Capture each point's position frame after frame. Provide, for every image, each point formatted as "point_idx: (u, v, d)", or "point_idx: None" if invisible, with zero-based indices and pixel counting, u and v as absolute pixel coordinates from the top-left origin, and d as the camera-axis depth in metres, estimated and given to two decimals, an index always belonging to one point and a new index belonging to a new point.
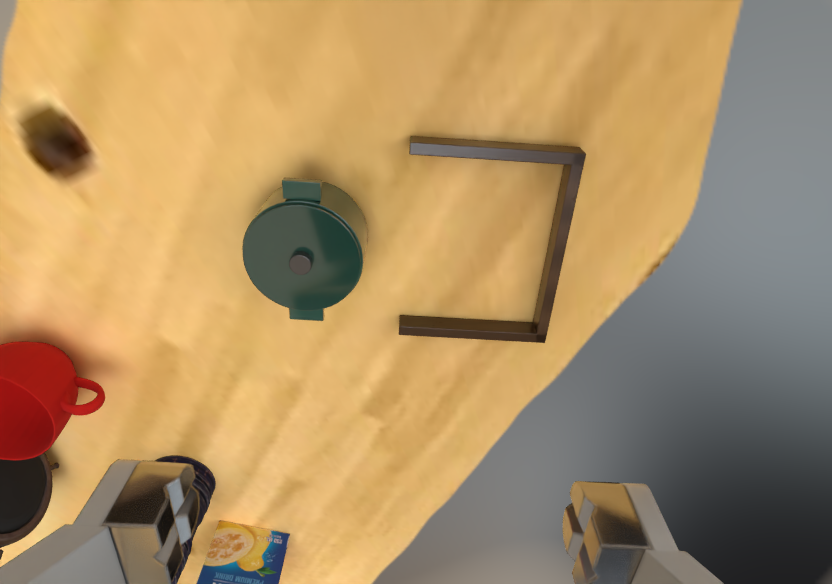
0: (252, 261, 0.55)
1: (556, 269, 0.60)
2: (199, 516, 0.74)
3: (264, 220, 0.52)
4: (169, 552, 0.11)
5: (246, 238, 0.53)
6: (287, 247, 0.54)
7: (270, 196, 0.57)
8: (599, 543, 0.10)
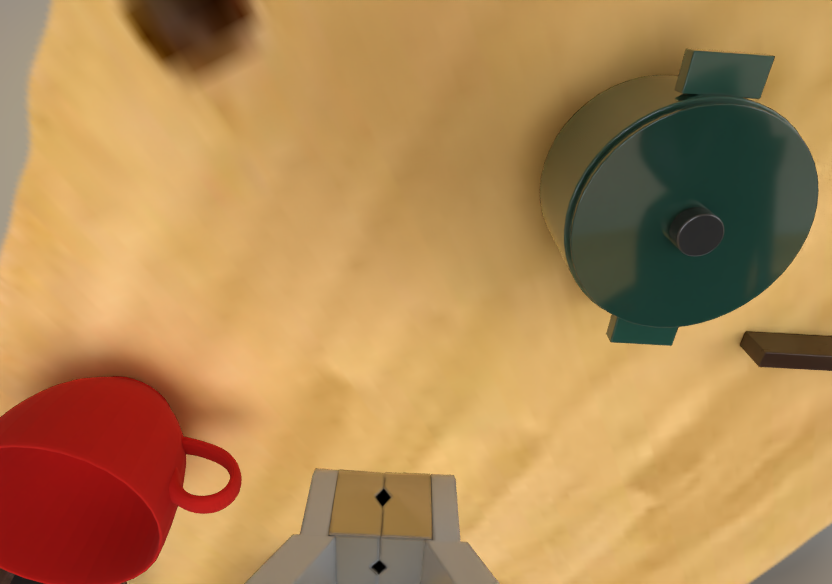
0: (589, 229, 0.27)
1: None
2: None
3: (645, 139, 0.25)
4: (378, 561, 0.11)
5: (593, 179, 0.26)
6: (672, 199, 0.26)
7: (594, 106, 0.29)
8: (381, 533, 0.10)
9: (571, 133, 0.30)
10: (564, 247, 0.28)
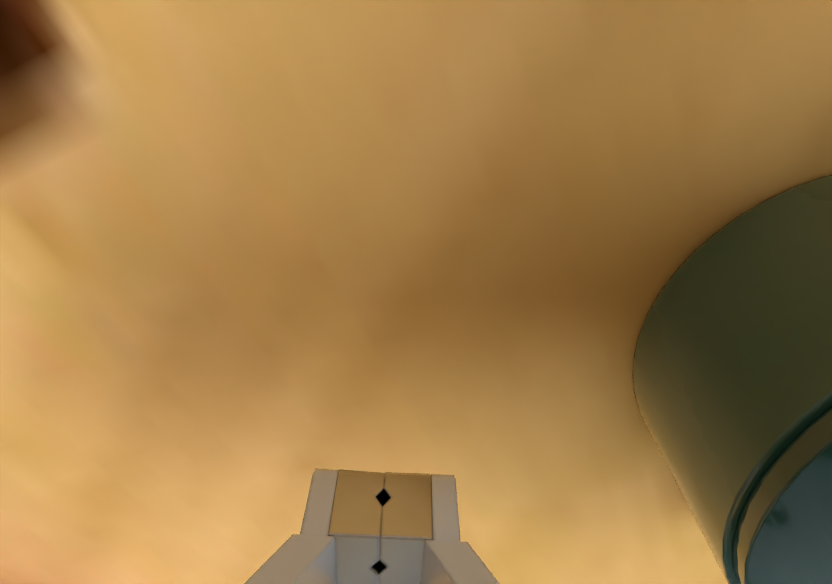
0: (794, 534, 0.12)
1: None
2: None
3: None
4: (378, 561, 0.11)
5: (827, 451, 0.11)
6: None
7: (765, 229, 0.15)
8: (380, 533, 0.10)
9: (719, 282, 0.15)
10: (721, 543, 0.13)
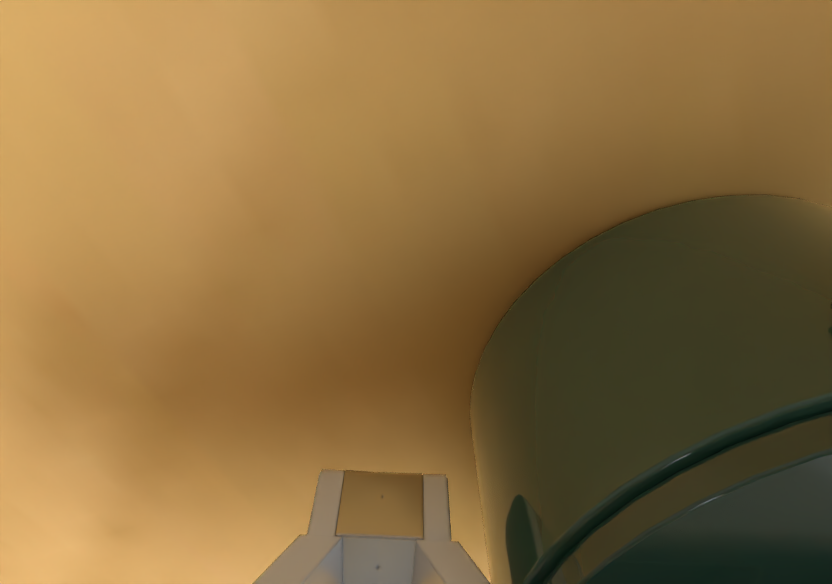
0: None
1: None
2: None
3: (752, 510, 0.07)
4: None
5: None
6: None
7: (579, 277, 0.12)
8: (371, 533, 0.10)
9: (526, 342, 0.12)
10: None
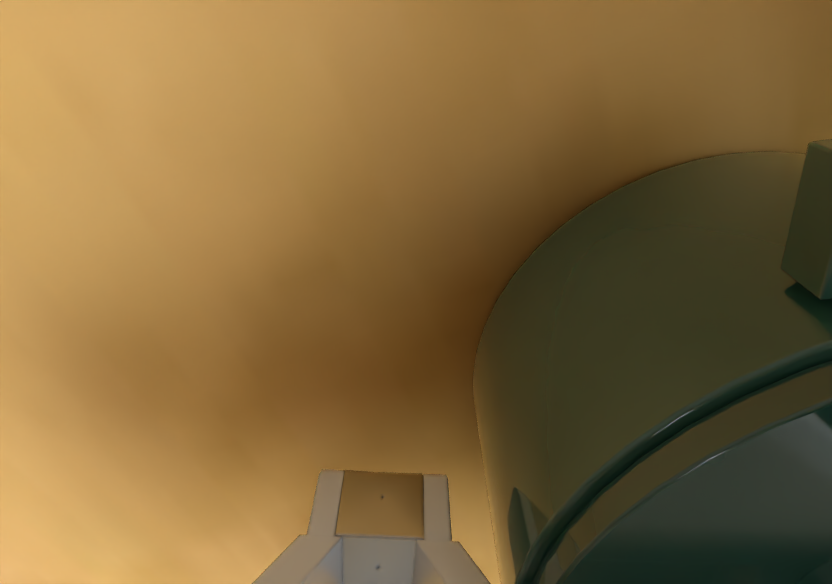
0: None
1: None
2: None
3: (714, 490, 0.07)
4: None
5: None
6: None
7: (550, 267, 0.12)
8: (372, 533, 0.10)
9: (507, 340, 0.12)
10: None
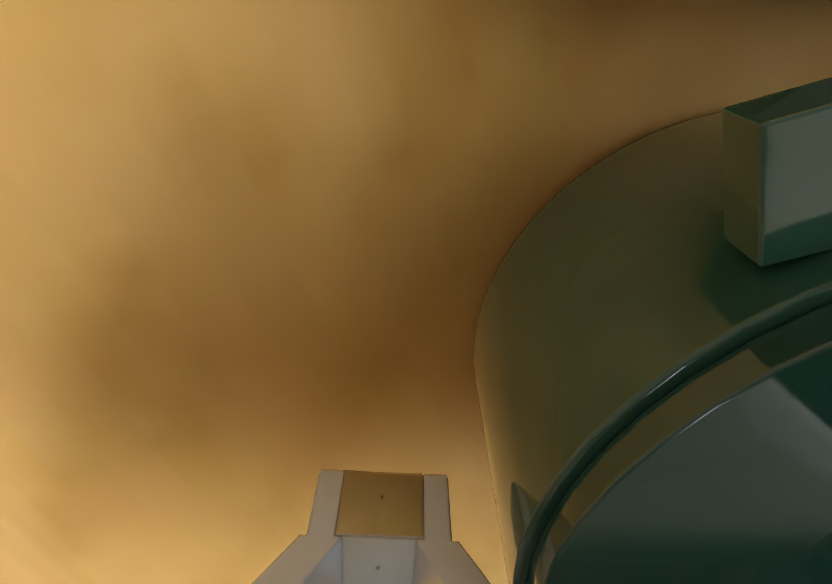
0: None
1: None
2: None
3: (675, 475, 0.07)
4: None
5: None
6: None
7: (524, 261, 0.12)
8: (372, 534, 0.10)
9: (492, 339, 0.12)
10: None
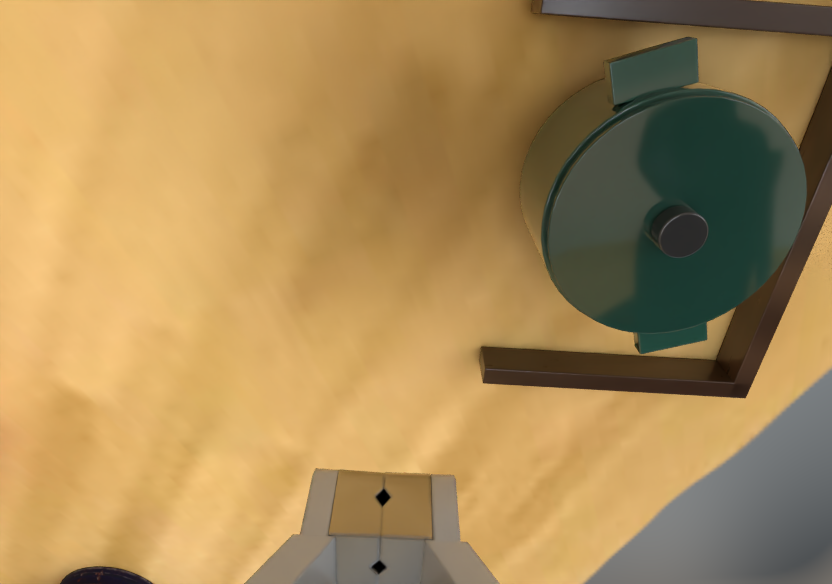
0: (569, 261, 0.26)
1: (797, 263, 0.31)
2: None
3: (590, 163, 0.24)
4: (378, 561, 0.11)
5: (553, 216, 0.25)
6: (642, 208, 0.25)
7: (544, 132, 0.29)
8: (380, 534, 0.10)
9: (531, 165, 0.29)
10: (553, 282, 0.28)
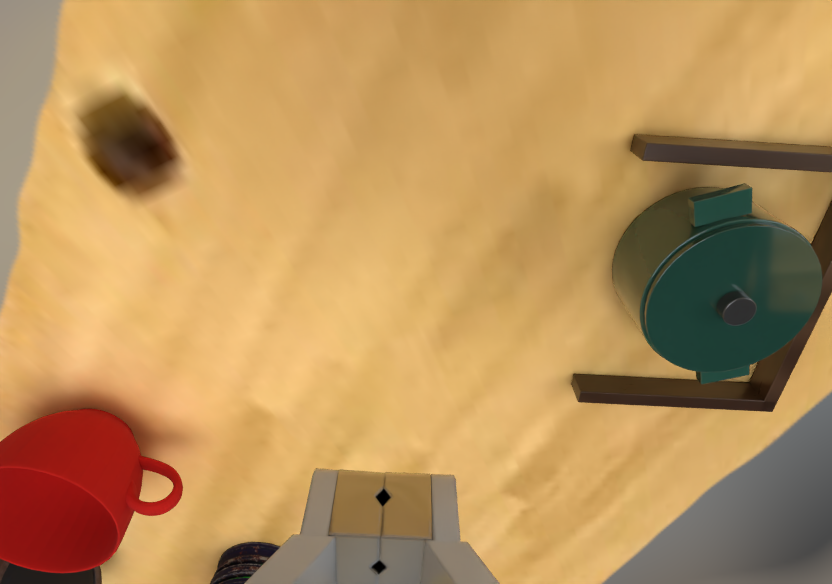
0: (659, 325, 0.38)
1: (812, 318, 0.43)
2: None
3: (678, 265, 0.36)
4: (378, 561, 0.11)
5: (651, 297, 0.37)
6: (711, 292, 0.37)
7: (636, 230, 0.41)
8: (380, 534, 0.10)
9: (625, 252, 0.41)
10: (645, 338, 0.40)
